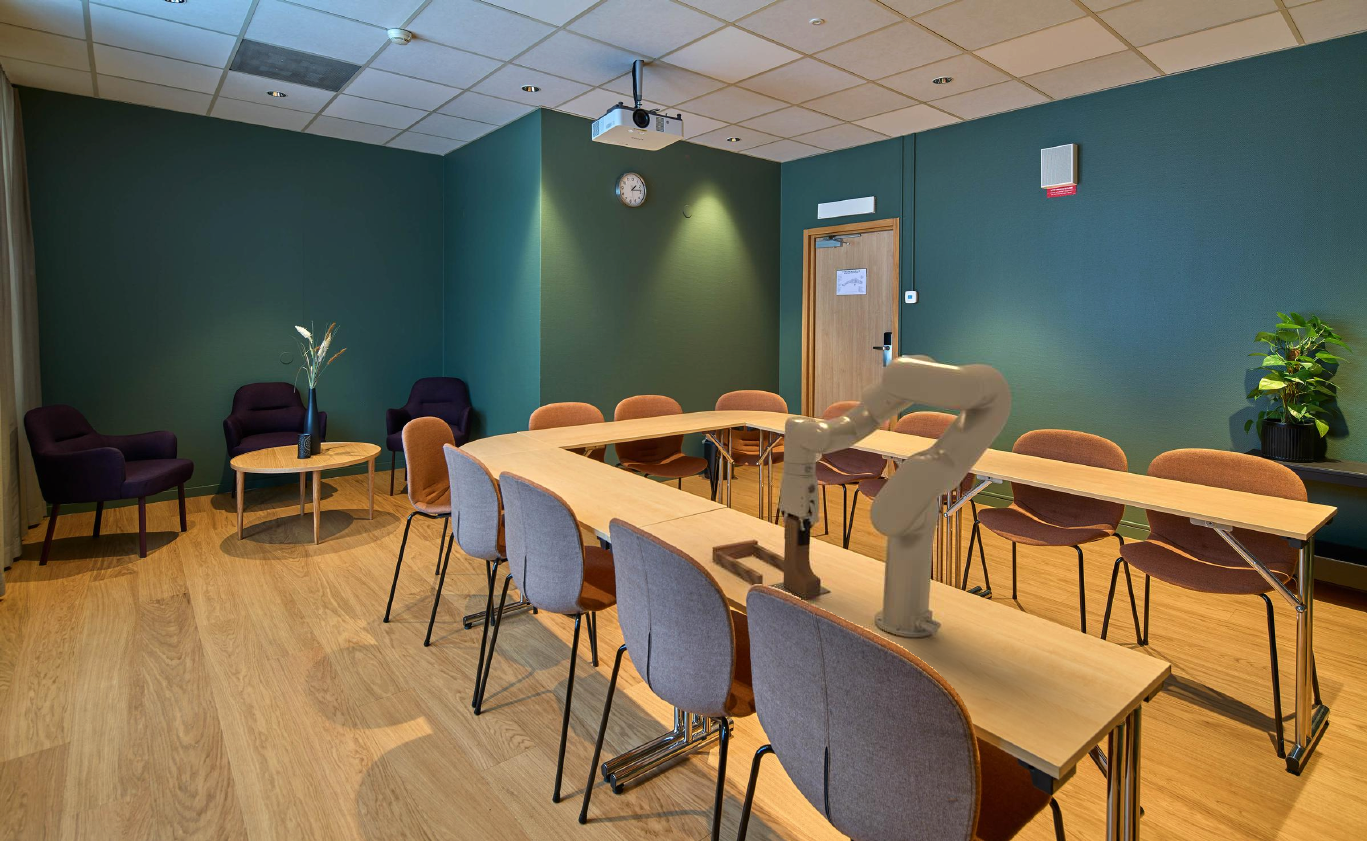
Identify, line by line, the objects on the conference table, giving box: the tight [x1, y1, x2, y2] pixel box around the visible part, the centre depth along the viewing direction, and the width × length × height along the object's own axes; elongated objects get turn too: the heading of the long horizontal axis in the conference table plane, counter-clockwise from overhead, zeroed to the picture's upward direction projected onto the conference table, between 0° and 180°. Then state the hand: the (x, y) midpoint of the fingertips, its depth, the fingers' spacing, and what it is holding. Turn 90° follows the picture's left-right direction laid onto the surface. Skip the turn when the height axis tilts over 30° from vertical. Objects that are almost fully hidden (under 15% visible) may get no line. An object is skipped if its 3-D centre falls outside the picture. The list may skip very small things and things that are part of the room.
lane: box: [711, 539, 784, 586], centre depth 188 cm, size 22×14×4 cm, turn 29°
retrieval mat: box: [767, 581, 831, 600], centre depth 173 cm, size 10×14×1 cm
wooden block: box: [783, 516, 822, 600], centre depth 170 cm, size 9×4×18 cm, turn 29°
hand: (796, 541), depth 172 cm, fingers closed on wooden block, 4 cm apart
